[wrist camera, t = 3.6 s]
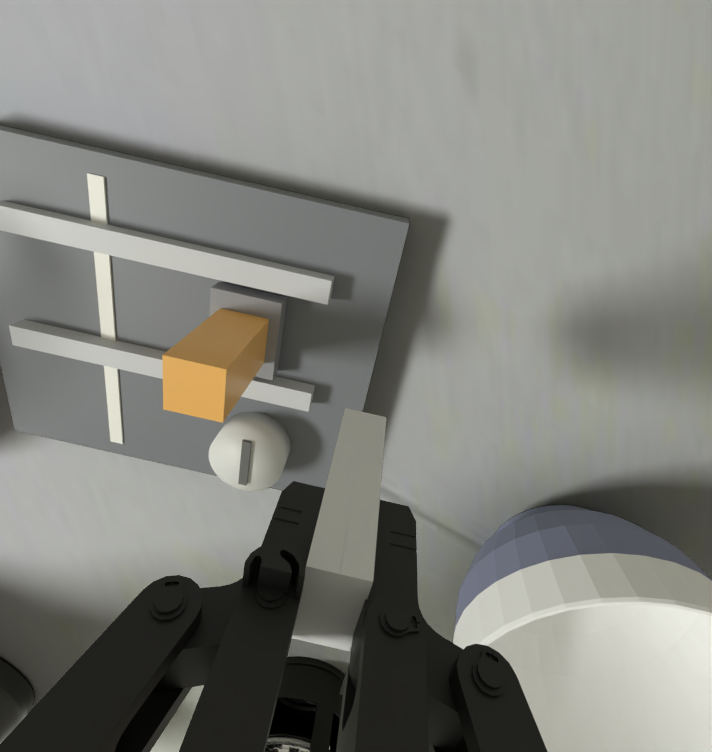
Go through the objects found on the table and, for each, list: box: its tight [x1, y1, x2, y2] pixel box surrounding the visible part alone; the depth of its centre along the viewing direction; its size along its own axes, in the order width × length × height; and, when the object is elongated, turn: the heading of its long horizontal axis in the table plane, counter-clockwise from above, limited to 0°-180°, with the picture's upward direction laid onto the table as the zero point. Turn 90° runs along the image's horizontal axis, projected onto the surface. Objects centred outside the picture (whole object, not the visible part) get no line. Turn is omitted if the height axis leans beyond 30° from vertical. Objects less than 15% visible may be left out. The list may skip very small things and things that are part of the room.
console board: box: [0, 125, 409, 491], centre depth 24 cm, size 22×18×4 cm
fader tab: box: [162, 282, 287, 423], centre depth 20 cm, size 4×4×7 cm
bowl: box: [453, 505, 712, 752], centre depth 27 cm, size 16×16×10 cm
